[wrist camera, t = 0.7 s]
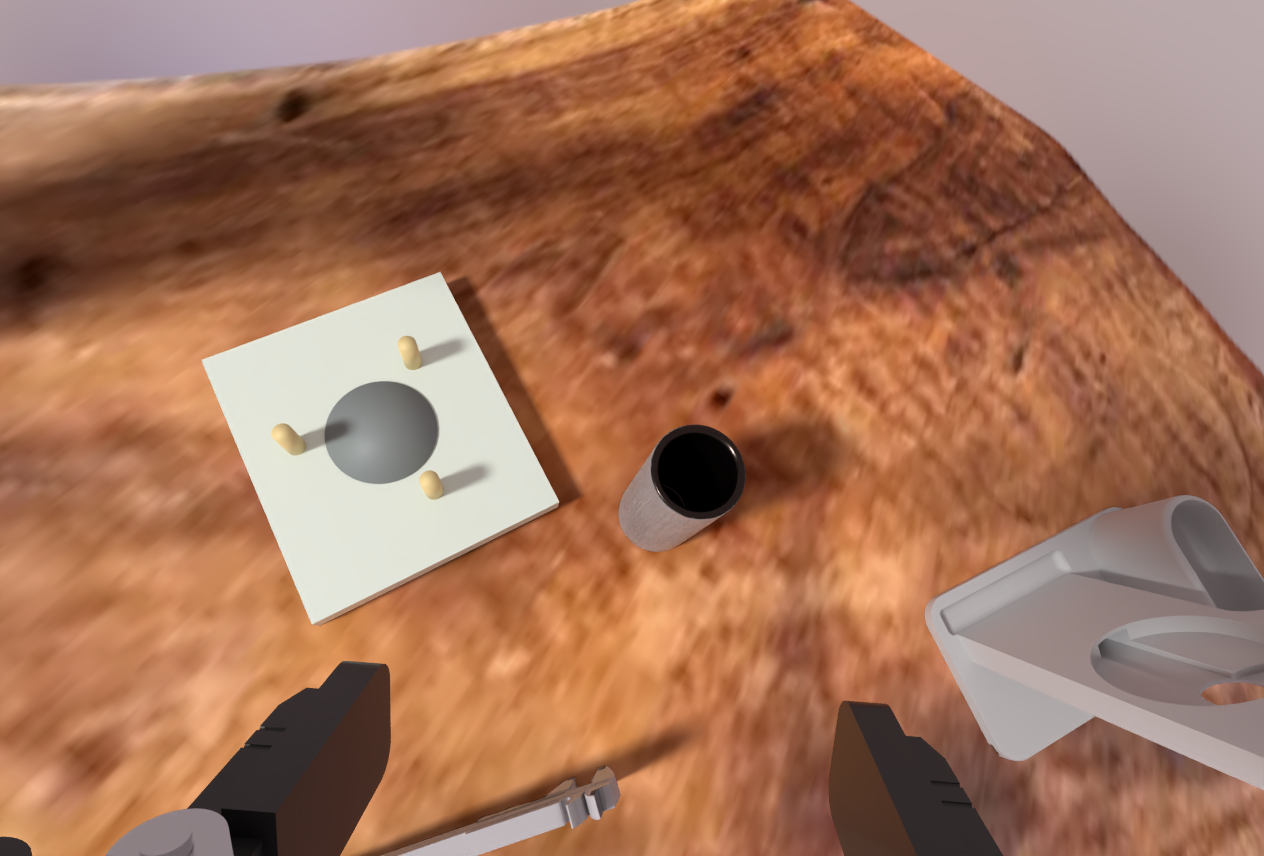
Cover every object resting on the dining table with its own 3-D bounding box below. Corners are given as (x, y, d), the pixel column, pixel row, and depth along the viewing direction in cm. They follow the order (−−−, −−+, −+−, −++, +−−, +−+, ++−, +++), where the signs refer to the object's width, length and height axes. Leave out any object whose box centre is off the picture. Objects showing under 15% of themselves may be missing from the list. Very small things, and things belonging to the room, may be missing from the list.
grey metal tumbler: (671, 566, 41) (720, 538, 31) (604, 528, 41) (632, 487, 31) (704, 501, 42) (762, 454, 32) (640, 463, 42) (678, 406, 33)
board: (212, 370, 40) (180, 340, 36) (442, 284, 44) (436, 249, 40) (319, 625, 37) (297, 622, 33) (557, 507, 41) (562, 491, 37)
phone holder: (1118, 500, 47) (1458, 413, 30) (1207, 644, 45) (1627, 635, 28) (916, 605, 42) (1184, 571, 25) (1002, 771, 40) (1360, 854, 23)
